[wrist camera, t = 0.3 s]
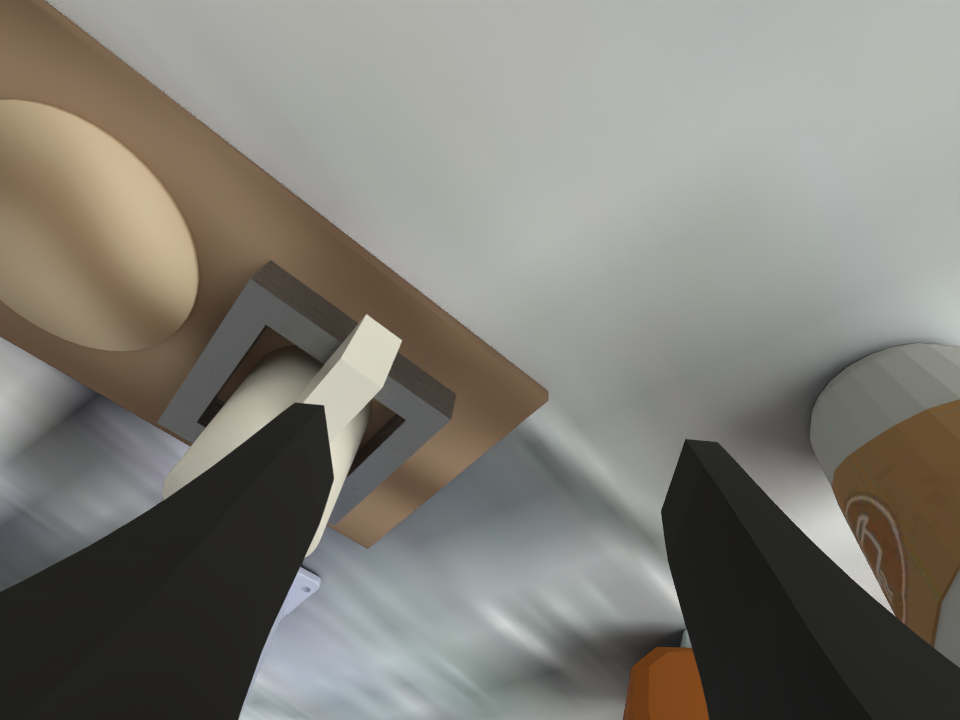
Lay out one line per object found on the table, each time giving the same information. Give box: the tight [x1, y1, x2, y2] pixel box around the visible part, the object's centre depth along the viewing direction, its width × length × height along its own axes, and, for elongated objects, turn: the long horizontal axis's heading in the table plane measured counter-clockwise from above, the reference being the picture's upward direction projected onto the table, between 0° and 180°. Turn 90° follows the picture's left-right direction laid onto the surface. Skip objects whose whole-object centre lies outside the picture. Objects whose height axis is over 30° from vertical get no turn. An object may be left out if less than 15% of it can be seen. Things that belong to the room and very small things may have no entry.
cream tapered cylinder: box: [162, 314, 402, 558], centre depth 18 cm, size 9×5×6 cm, turn 140°
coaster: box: [0, 99, 200, 351], centre depth 19 cm, size 9×9×1 cm
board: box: [0, 0, 548, 549], centre depth 21 cm, size 13×24×1 cm, turn 50°
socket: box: [157, 260, 456, 526], centre depth 21 cm, size 8×8×2 cm
